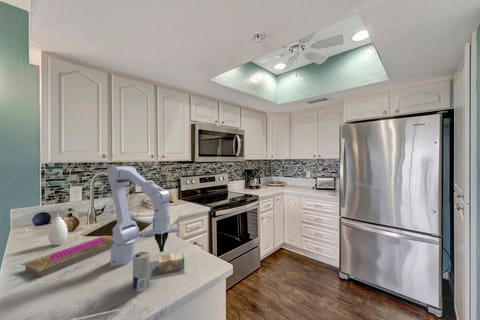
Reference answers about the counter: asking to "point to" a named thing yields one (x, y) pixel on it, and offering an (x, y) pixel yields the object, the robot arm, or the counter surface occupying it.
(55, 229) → the white egg candle
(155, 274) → the rubber mat
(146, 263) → the energy drink
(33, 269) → the brown long flat block
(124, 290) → the counter surface
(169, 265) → the oak block
